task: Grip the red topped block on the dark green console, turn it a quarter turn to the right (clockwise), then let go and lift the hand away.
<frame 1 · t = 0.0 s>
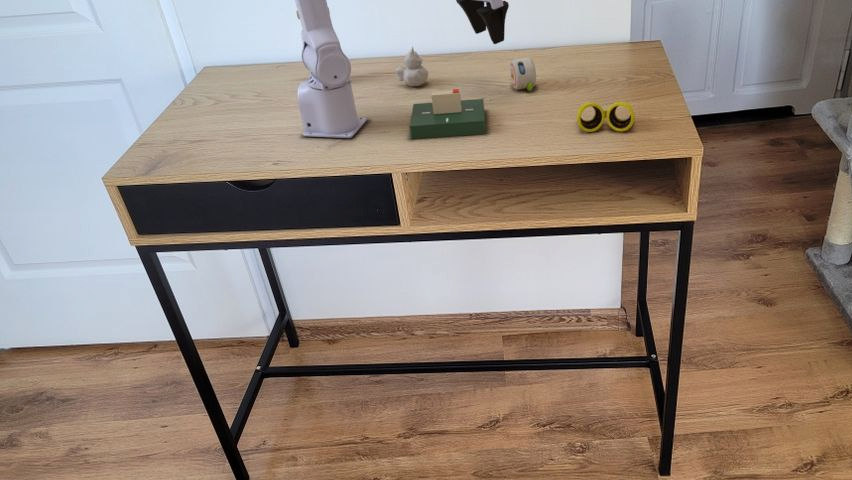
hand: (489, 36, 141), 11 cm above the table, tool pointing down, fingers open, 7 cm apart
handle: (327, 84, 157), on the table
opera glasses: (605, 127, 130), on the table
red topped block: (446, 101, 132), point 4 cm above the table, hinge at 0.0°
roller toy: (523, 88, 147), on the table
console: (449, 124, 135), on the table
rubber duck: (413, 86, 153), on the table
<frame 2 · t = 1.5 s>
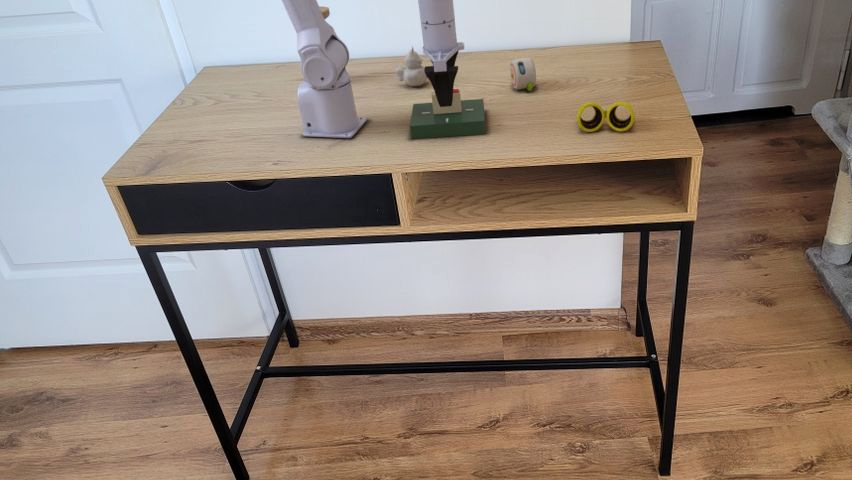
hand: (446, 97, 132), 5 cm above the table, tool pointing down, fingers open, 7 cm apart
nothing on the table moved.
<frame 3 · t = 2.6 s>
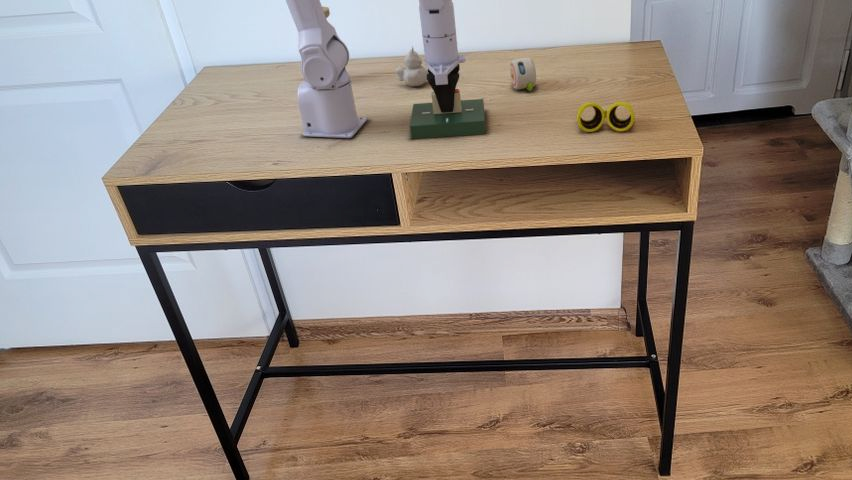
hand: (447, 109, 133), 3 cm above the table, tool pointing down, fingers closed on red topped block, 2 cm apart
red topped block: (446, 101, 132), point 4 cm above the table, hinge at 0.0°, touching gripper
everything else where it was.
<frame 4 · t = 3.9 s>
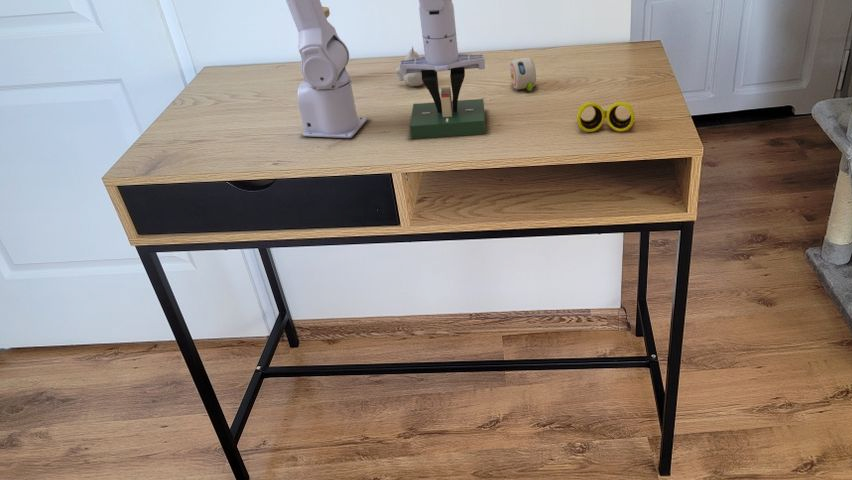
hand: (447, 110, 133), 3 cm above the table, tool pointing down, fingers closed
red topped block: (446, 101, 132), point 4 cm above the table, hinge at -90.0°
everything else where it was.
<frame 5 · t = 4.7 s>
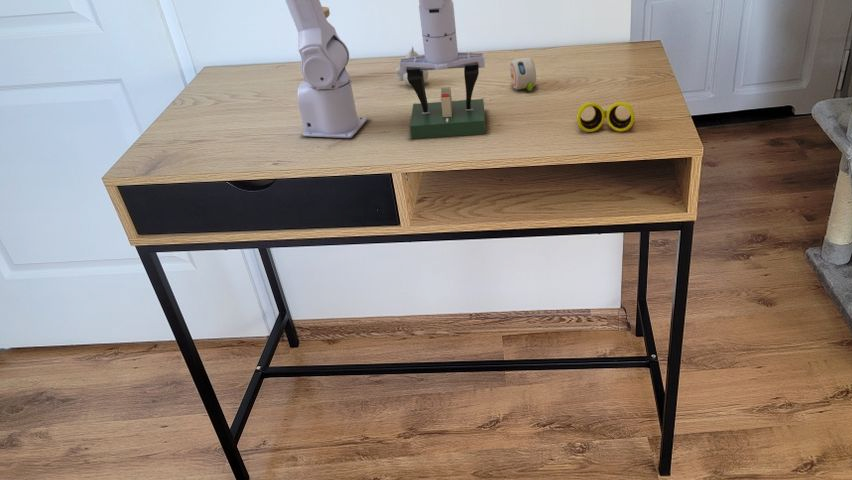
hand: (447, 108, 133), 3 cm above the table, tool pointing down, fingers open, 7 cm apart
nothing on the table moved.
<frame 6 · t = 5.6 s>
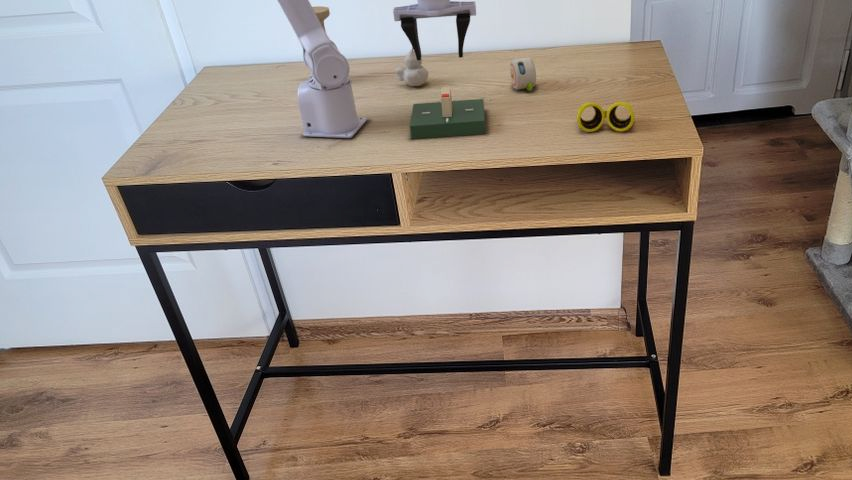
hand: (440, 57, 137), 9 cm above the table, tool pointing down, fingers open, 7 cm apart
nothing on the table moved.
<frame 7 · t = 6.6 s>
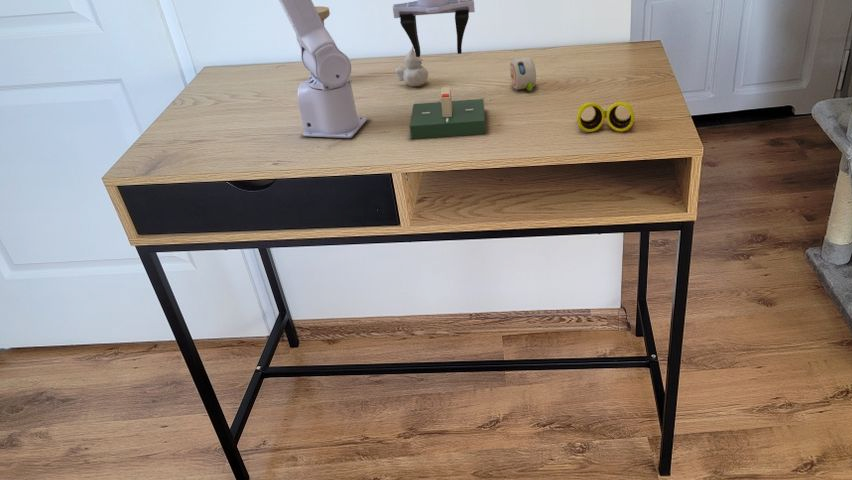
hand: (439, 53, 139), 9 cm above the table, tool pointing down, fingers open, 7 cm apart
nothing on the table moved.
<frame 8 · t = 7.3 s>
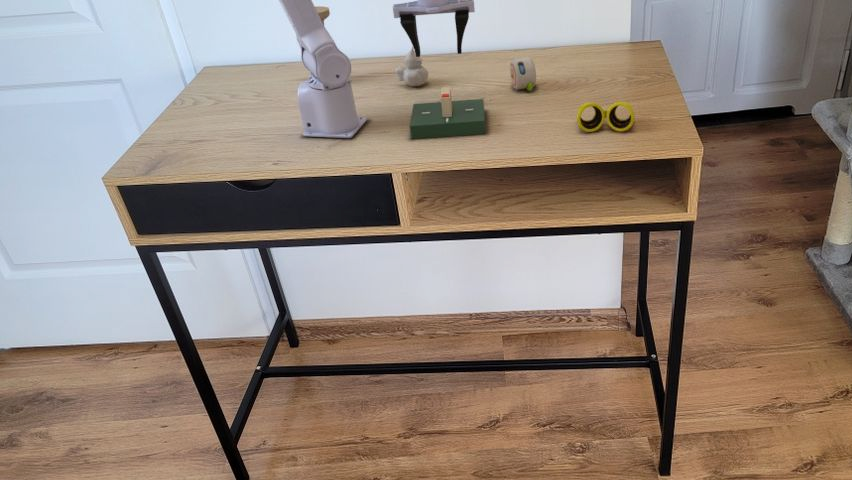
hand: (439, 53, 139), 9 cm above the table, tool pointing down, fingers open, 7 cm apart
nothing on the table moved.
at the end: red topped block at -90° (first picture: +0°); the gripper is holding nothing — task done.
